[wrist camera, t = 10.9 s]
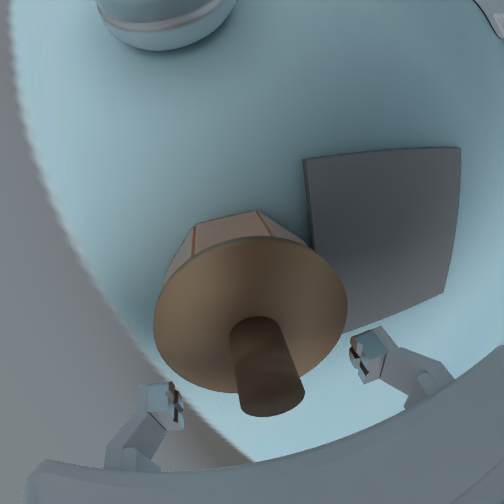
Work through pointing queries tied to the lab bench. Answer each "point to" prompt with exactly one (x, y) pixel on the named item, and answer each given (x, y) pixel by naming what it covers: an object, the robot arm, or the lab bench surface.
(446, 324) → the lab bench surface
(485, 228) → the lab bench surface
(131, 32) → the plastic bottle
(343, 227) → the mat
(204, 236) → the bowl
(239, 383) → the lid
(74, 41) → the lab bench surface
